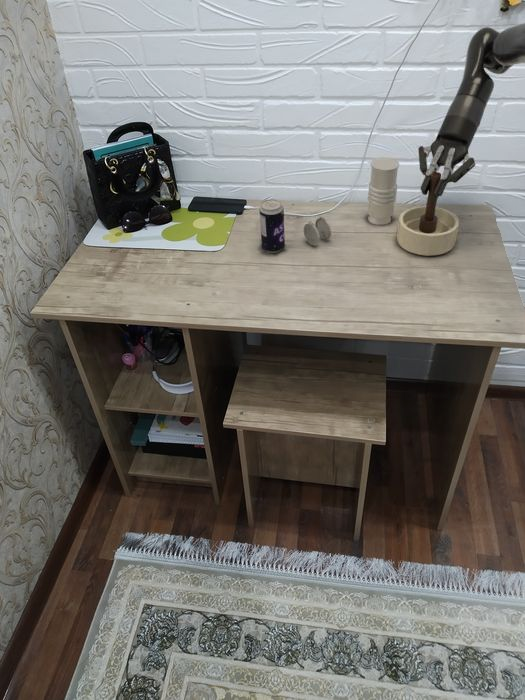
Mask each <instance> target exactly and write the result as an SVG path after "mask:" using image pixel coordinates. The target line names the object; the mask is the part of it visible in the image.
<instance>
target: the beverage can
mask: <svg viewBox="0 0 525 700" xmlns="http://www.w3.org/2000/svg"><path fill="white" fill-rule="evenodd" d="M284 209H285V208H284V206H283V203H282V201H281V200H279V199H276V198H275V199H274V198H270V199H269V198H268V199H265V200H263V201H261V203H260V207H259V211H258V212H259V224H260V225H259V226H260V237H261V238H260V241H261V242H260V243H261V248H262V249H263V250H264V251H265V252H267V253H270V254H276V253H280V252H281V251H282V250H283V249H284V248H285V246H286V240H285V239H286V237H285V234H286V233H285V210H284Z"/></svg>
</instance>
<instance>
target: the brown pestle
mask: <svg viewBox="0 0 525 700" xmlns="http://www.w3.org/2000/svg"><path fill="white" fill-rule="evenodd" d="M441 178H442V173H440V172H439V171H437V172H433V173H431V178H430V185H429V190H428V193H427V198H426V204H425V206H426V210H425V214H424V215H422V216H421V217H420V224H419V230H420V231H421V232H423V233H427V234H430V233H434V232H435V231H436V227H437V221H438V218H437V216H435V209H436V207H437V202H438V198H434V196H433V193H434V191H435V189H436V186H437V184H438V182H439V180H440V179H441Z"/></svg>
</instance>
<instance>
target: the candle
mask: <svg viewBox="0 0 525 700" xmlns="http://www.w3.org/2000/svg"><path fill="white" fill-rule="evenodd" d="M370 167H371V171H370V182H369V183H368V193H367V202H368V203H367V208H366V209H367V210H366V213H367V214H368V217H367V220H368V221H369V222H370V223H371V224H373V225H379V226H382V225H387V224H389V223H390V222H391V221H392V216H393V215H394V213H395V203H396V201H397V193H398V184H397V179H398V169H399V167H400V161H398V160H397V159H395V158H393V157H378V158H377V157H376V158H374V159H373V160H371V162H370Z"/></svg>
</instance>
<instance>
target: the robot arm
mask: <svg viewBox="0 0 525 700" xmlns="http://www.w3.org/2000/svg"><path fill="white" fill-rule="evenodd" d="M524 63H525V22H524V23H521V24H518V25H515V26H511V27H508V28H506V29H504V30H502V31H501V32H499V31H497V30H496V29H494V28H492V27H490V26H485V27H482V28H480V29H478V30H477V31H476V32H475V33H474V34H473V36H472V37H471V39H470V41H469V43H468V47H467V50H466V56H465V63H464V70H463V75H462V79H461V82H460V84H459V87H458V89H457V91H456V94H455V96H454V98H453V100H452V102H451V103H450V106H449V108H448V110H447V112H446V114H445V117H444V119H443V121H442V124H441V125H440V128H439V131H438V133H437V135H436V138H435V140H434V141H432V143H431V144H430V145H429V146H428V145H427V146H423V145H420V146H419V147H418V148H417V149H418V151H417V152H418V161H419V162H418V163H419V164H418V165H419V170H420V172H421V174H422V175H423V176H424V178H423V181H422V183H421V184H420V185H421V186H420V191H421V194H422V195H423V196H428V191H429V185H430V178H431V173H433V172H439V170H440V168H441V167H443V172H442V173H441V179H440V180H439V182H438V184H437V186H436V189H435V191H434V193H433V196H434V198H437V199H438V198H439V197H441V196H443V194H444V192H445V190H446V187H447V185H448V184H449V183H454V184H455V183H457V182H459V181H460V180H461V179H462V178H463V177H464V176H465V175H466V174H468V173H469V172H470V171H471V170H472V169H473V168H475V167H476V160H475V158H474V157H471V156H470V155H469V149H470V146H471V144H472V142H473V140H474V137H475V135H476V133H477V130H478V128H479V127H480V125H481V121H482V119H483V116H484V112H485V109H486V107H487V104H488V103H489V100H490V98H491V95H492V93H493V91H494V89H495V81H494V80H493V78H492V77H491V76H490V75H489V74H488V72H490V73H492V74H495V75H504V74H505V73H506V72H507V71H508V70H510V68H512V67H513V66H515V65H519V64H524ZM486 70H487V71H488V72H487V71H486ZM430 153H431V156H432V160H431V161H430V164H429V166H428V162H427V161H428V160H427V158H428V157H430ZM461 162H462V165H460V166H459V167H458V168H457V169H456V170H454V169H455V166H456V167H457V165H459V164H460V163H461Z"/></svg>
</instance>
